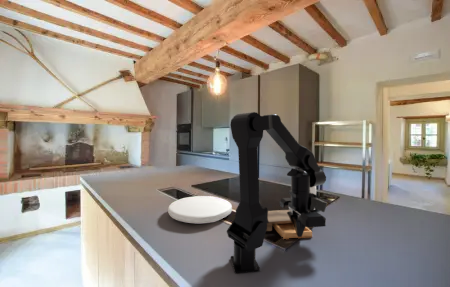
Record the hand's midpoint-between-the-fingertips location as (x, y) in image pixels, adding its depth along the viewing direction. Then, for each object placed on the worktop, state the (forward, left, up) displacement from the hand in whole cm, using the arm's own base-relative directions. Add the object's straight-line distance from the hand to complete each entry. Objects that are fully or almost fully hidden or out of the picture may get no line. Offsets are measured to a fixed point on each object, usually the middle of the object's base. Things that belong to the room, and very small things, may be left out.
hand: (299, 236), depth 67 cm
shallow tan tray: (+8, 0, -1) cm, 8 cm away
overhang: (+12, 0, -1) cm, 12 cm away
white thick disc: (+26, +31, -2) cm, 41 cm away
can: (+26, -19, -1) cm, 32 cm away
